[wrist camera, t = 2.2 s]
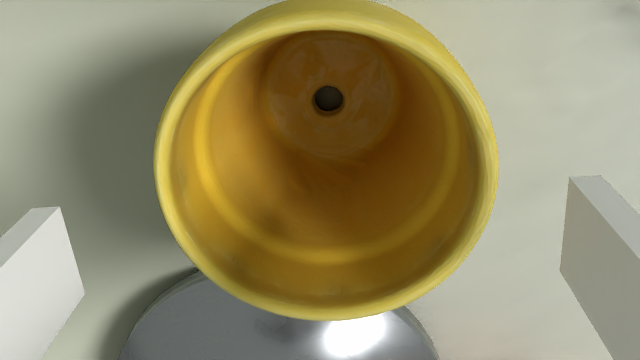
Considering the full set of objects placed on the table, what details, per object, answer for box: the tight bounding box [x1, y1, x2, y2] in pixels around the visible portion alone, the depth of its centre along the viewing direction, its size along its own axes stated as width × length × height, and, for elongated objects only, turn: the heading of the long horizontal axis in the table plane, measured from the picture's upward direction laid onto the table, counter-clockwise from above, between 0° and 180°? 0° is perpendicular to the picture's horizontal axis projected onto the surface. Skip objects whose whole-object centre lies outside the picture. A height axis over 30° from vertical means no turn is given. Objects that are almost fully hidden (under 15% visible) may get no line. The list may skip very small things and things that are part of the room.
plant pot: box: [153, 0, 498, 321], centre depth 22 cm, size 10×10×10 cm
